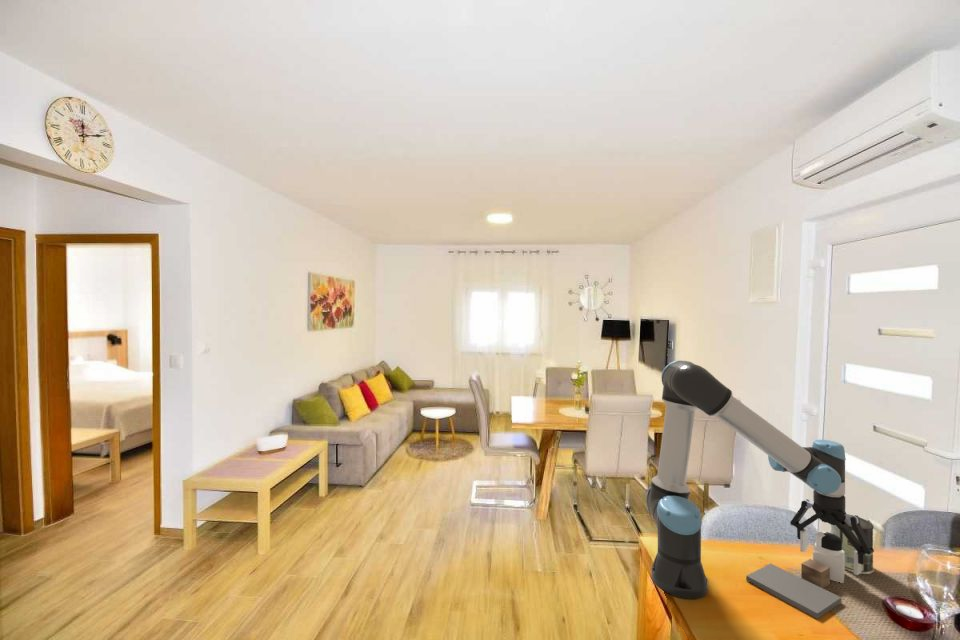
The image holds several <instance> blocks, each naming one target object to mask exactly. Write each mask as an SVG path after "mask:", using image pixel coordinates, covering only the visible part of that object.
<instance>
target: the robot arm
mask: <svg viewBox="0 0 960 640" xmlns="http://www.w3.org/2000/svg"><path fill="white" fill-rule="evenodd" d="M660 378H661V379H660V380H661V383H662V393H661V394H662V396H661V400H662V401H663V402H664V404H665V410H664V411H665V413H664V419H663V426H662V427H663V429H662V435H661V443H660V453H659V459H658V466H657V475H655V476H654V477H652V478H651V481H650V482H651V483H650V486H649V487H648V489H647V491H646V498H645V499H646V505H647V508H648V511H649V513H650V514H651V516H652V519H653V520H654V523H655V525H656V528H657V552H656V555H655V558H654V560H653V562H652V565H651V570H650V571H651V573H650V574H651V577H650V578H651V580H652V582H653V583H654V584H655V586H656V587H657V588H659V589H660V590H661V591H663V592H665V593H666V594H669V595H671V596H673V597H677V598H681V599H686V600H687V599H688V600H696V599H700V598H703V597H704V596H706V595H707V593H708V591H709V590H708V589H709V586H708V585H709V584H708V583H709V582H708V578H707V576H706V574H705V570H704V567H703V563H702V524H703V521H702V516H701V510H700V508H699V507H698V506H697V504H696V503H694V502H693V501H691V500H690V493H691V488H690V486H689V485H688V484H687V476H688V475H687V474H688V467H689V459H690V452H691V444H692V437H693V429H694V422H695V414H696V410H698V409H699V410H700V411H702V412H704V414H706V415H708V416H709V417H713V416H714V417H716V418H717V419H718V420H720V421H722V423H724V424H726V425H727V426H728V427H730V428H731V430H733V431H734V432H736V433H738V434H739V435H741V437H743V438H744V439H746V440H747V441H748V442H750V443H751V444H753V446H754V447H756V448H758V450H761V451H762V452H763V453H764V454H766V455H767V457H768V460H767V461H768V462H769V465H770V467H771V469H773V470H774V471H777V472H783V473H785V472H787V473H788V472H789V474H791V475H793V476H794V477H796V478H797V479H799V480H800V481H802V482H803V483H805V484H806V485H807V486H809V488H811V489H812V490H813V493H812V494H813V496H812V497H813V502H811V501H810V499H804V500H801V503H800V508H799V509H798V510H797V512H795V513H796V514H794V516H793V518H792V519H791V520H790V522H789V524H790V526H793V527H794V528H796V530H797V532H796V535H797V536H796V537H797V539H798V540H800V543H799V544H800V545H799V546H800V552H802V553H805V552H806V551H809V550H808V529H806V527H808V526H810V525H811V524H813V523H814V522H815V521H818V520H820V521H821V522H823V523H826V524H827V523H828V524H829V525H830V526H831V525H836V526H837V527H838V528H839V529H840V530H841V531H842V532H843V534H844V535H845V536H846V537H847V539H848V540H849V541H850V543H851V544H852V545H853V547H854V548H855V549H856V551H854V572H853V575H855V576H859V575H861V574H860V573H861V564H862V565H863V564H864V563H865V554H868V555H870V554H871V553H873V554H874V552H875V549H874V546H873V547H872V546H871V544H870V542H869V540H868V538H867V536H866V534H865V532H864V530H863V529H862V527H861V525H860V520H859V516H858V515H853V516H851V514H848V513H847V512H846V496H845V495H846V461H847V459H846V451H845V447H844V445H842V443H840V442H838V441H837V442H836V441H834V440H827V439H815V440H813V442H812V445H811V446H807V447H806V446H805V447H804V446H801V445H800V444H798V443H797V442H796V441H795V440H793V439H792V438H790V437H789V436H787V435H786V434H784V432H782V431H781V430H779V429H778V428H777V427H776V426H774V425H773V424H772V423H770V422H768V421H767V420H766V419H764V418H763V417H762V416H760V414H758V413H756V412H755V411H753V410H752V409H751V408H749V407H748V406H747V405H745V404H744V403H743V402H742V401H740V400H739V399H738V398H736V397H734V396H733V395H734V394H733V391H732V390H731V389H730V388H729V387H727V386H726V385H724V384H723V383H722V382H721V381H719V380H718V379H717V378H716V377H715V376H714V375H713V374H712V373H711V372H710V371H708V370H707V369H706V368H704V367H703V366H701V365H698V364H695V363H694V362H692V361H689V360H688V361H687V360H674V361H671V362H669V363H668V364H667V365H666V366H664V368H663V370H662V372H661V377H660ZM811 508H812V510H813V511H814V513H815V514H813V515H811V516H810V517H809V518H807V519H805V520H804V521H802V522H801V523H800V521H801V520H802V518H803V517H805V514H806V513H807V511H808V510H809V509H811ZM847 514H848V515H847ZM845 519H848V521H849V523H851V525H852V528H853V530H854V532H855V534H856V535H857V537H858V538H857V537H856V536H855V535H854V533H853V532H852V531H851V529H850V528H849V527H848V524H847V523H846V522H845ZM841 524H842V525H841ZM858 539H859V540H858Z"/></svg>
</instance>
